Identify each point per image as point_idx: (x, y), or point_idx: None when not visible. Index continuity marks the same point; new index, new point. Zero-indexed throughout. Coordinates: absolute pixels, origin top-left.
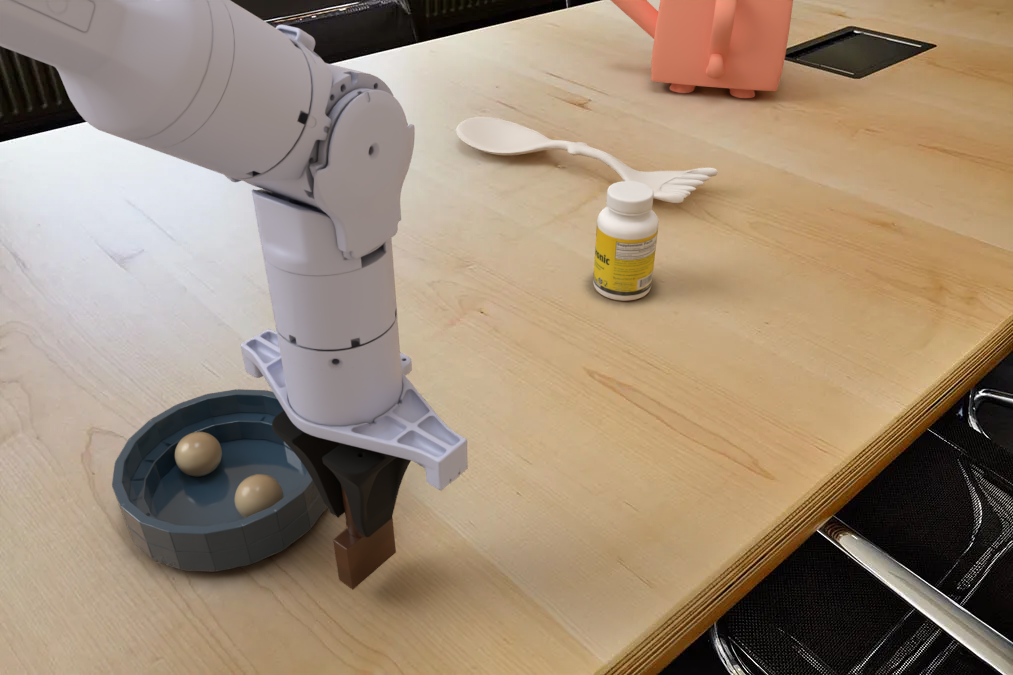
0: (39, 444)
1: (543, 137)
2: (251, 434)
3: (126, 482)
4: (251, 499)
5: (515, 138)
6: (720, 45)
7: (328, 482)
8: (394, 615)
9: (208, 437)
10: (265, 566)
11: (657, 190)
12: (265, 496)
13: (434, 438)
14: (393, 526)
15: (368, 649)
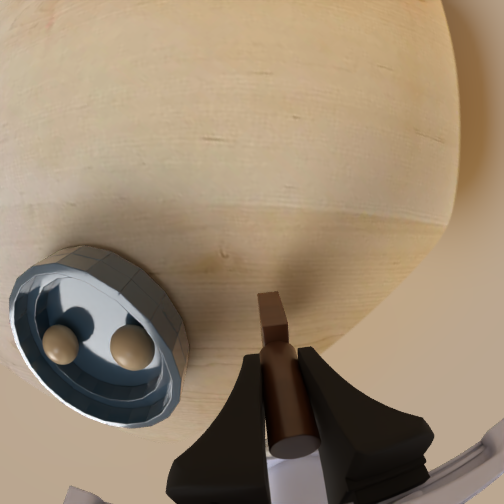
0: (18, 367)
1: None
2: (49, 288)
3: (79, 401)
4: (141, 368)
5: None
6: None
7: (264, 432)
8: (312, 313)
9: (52, 345)
10: (189, 354)
11: None
12: (143, 359)
13: (493, 480)
14: (283, 310)
15: (317, 342)
